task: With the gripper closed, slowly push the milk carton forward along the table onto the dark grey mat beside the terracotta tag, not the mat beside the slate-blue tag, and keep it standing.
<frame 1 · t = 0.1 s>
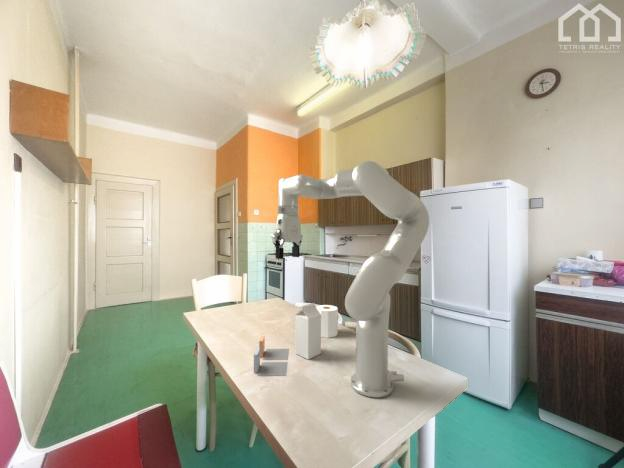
hand: (287, 257, 98), 37 cm above the table, tool pointing down, fingers open, 9 cm apart
milk carton: (307, 354, 101), on the table
toilet paper: (326, 334, 122), on the table
tag station: (275, 361, 95), on the table
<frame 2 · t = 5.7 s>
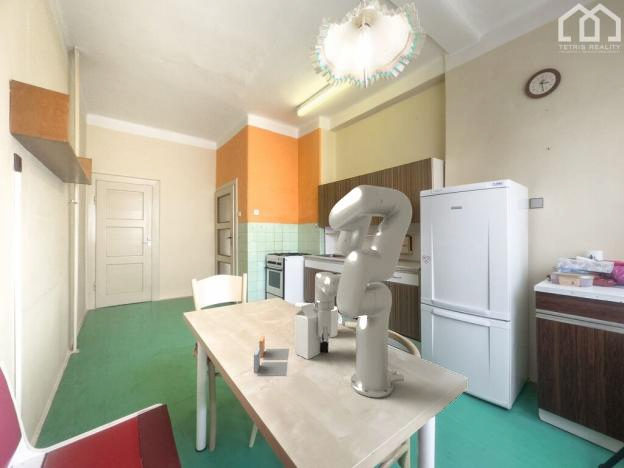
hand: (324, 351, 101), 1 cm above the table, tool pointing down, fingers closed
milk carton: (307, 354, 101), on the table, touching gripper
everything else where it was.
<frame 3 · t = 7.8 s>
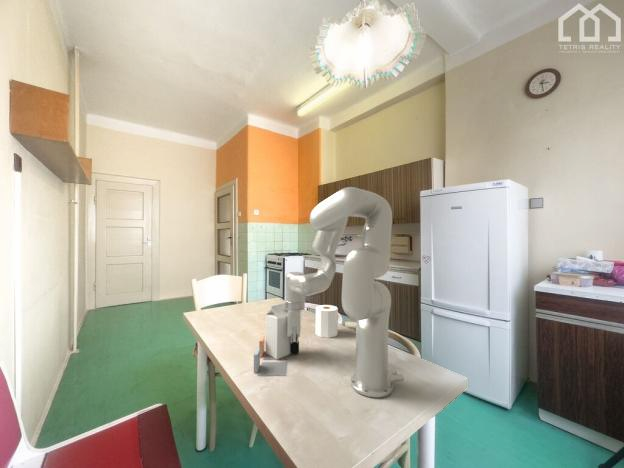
hand: (294, 352, 101), 1 cm above the table, tool pointing down, fingers closed
milk carton: (278, 354, 101), on the table, touching gripper, tag station
everything else where it was.
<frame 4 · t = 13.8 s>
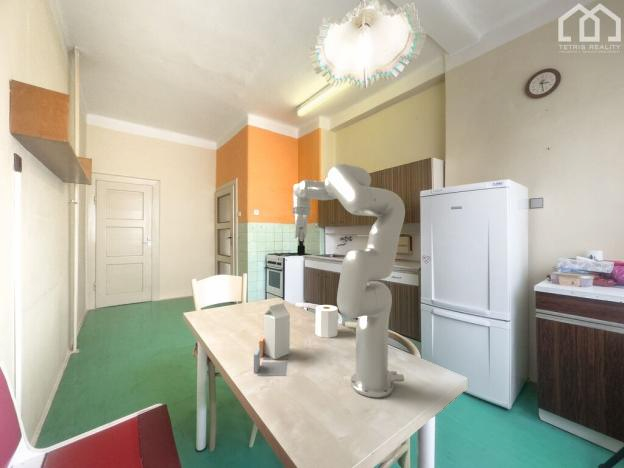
hand: (301, 254, 113), 37 cm above the table, tool pointing down, fingers closed
milk carton: (276, 354, 101), on the table, touching tag station
everything else where it was.
at the end: milk carton inside the target area on the tag station (0.2 cm from its centre), point 0.0 cm above the tag station's base; milk carton tilted 0° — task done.
